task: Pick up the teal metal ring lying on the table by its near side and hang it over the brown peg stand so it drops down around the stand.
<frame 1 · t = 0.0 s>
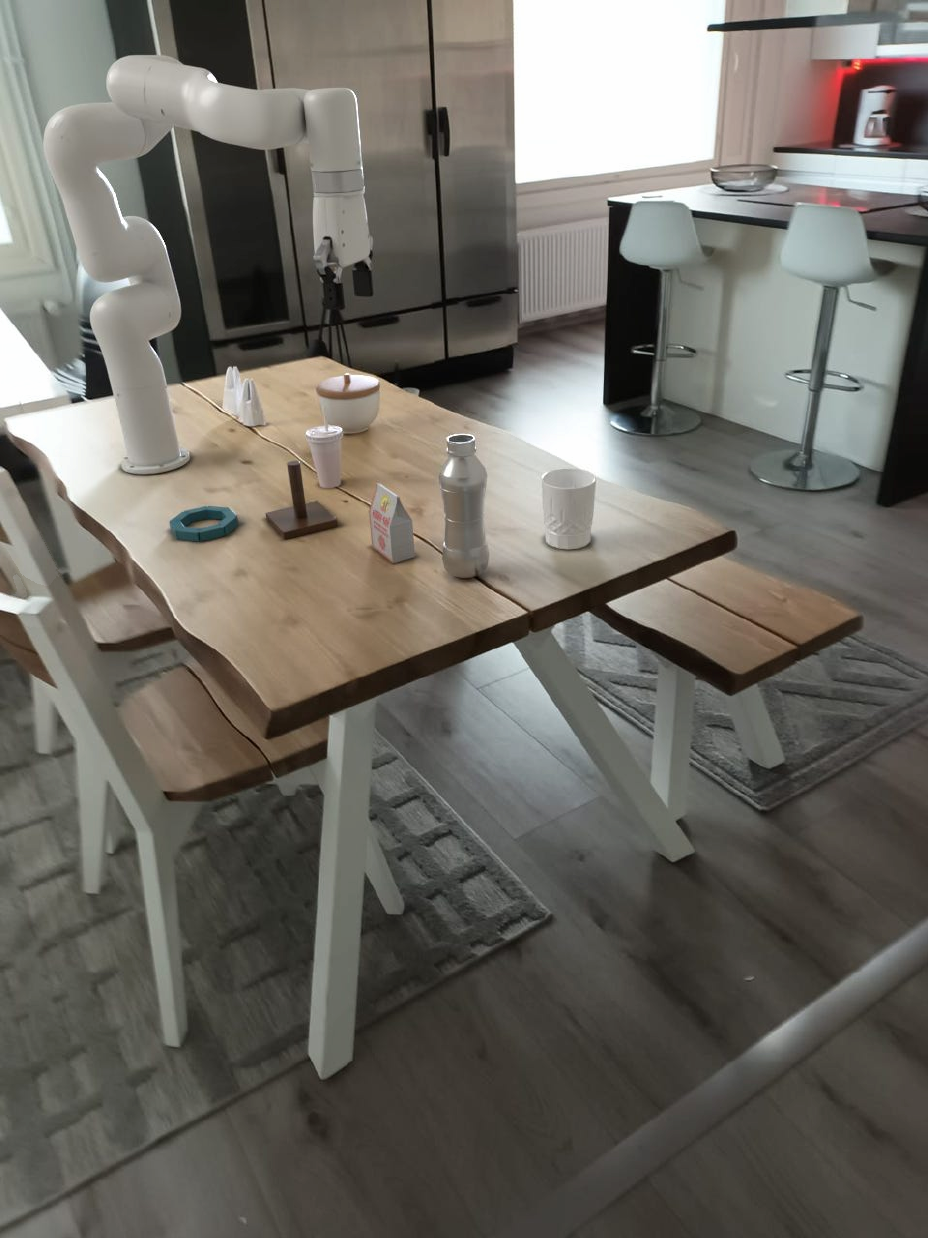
hand: (350, 302, 149), 31 cm above the table, tool pointing down, fingers open, 9 cm apart
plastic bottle: (466, 574, 135), on the table
white cup: (567, 541, 143), on the table
brown peg stand: (301, 522, 153), on the table
smoothie: (330, 485, 167), on the table
lidded bowl: (352, 428, 193), on the table
white twin peak shape: (245, 421, 200), on the table
white milk carton: (393, 553, 142), on the table
ring: (204, 527, 153), on the table
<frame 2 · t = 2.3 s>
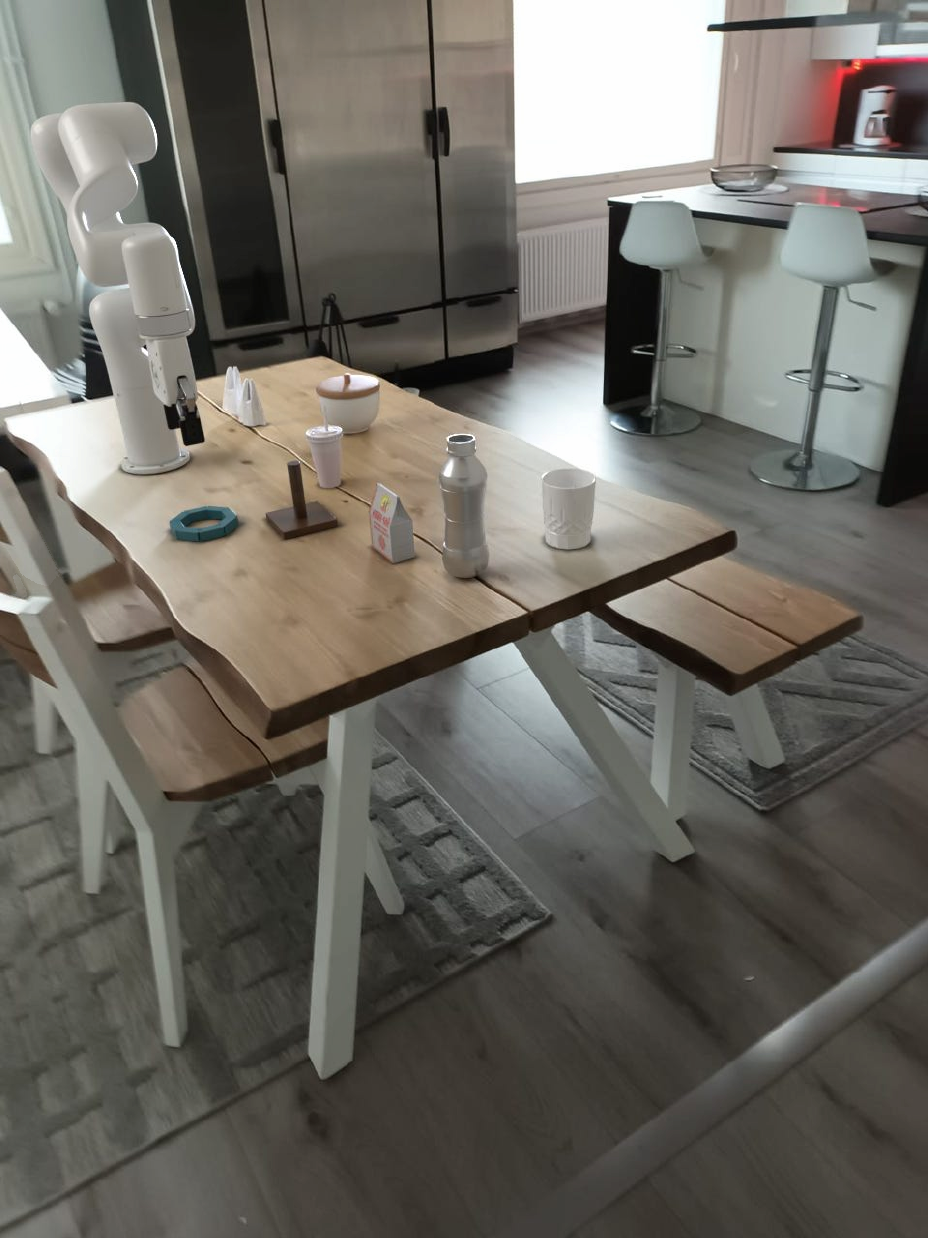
hand: (186, 435, 149), 14 cm above the table, tool pointing down, fingers open, 9 cm apart
nothing on the table moved.
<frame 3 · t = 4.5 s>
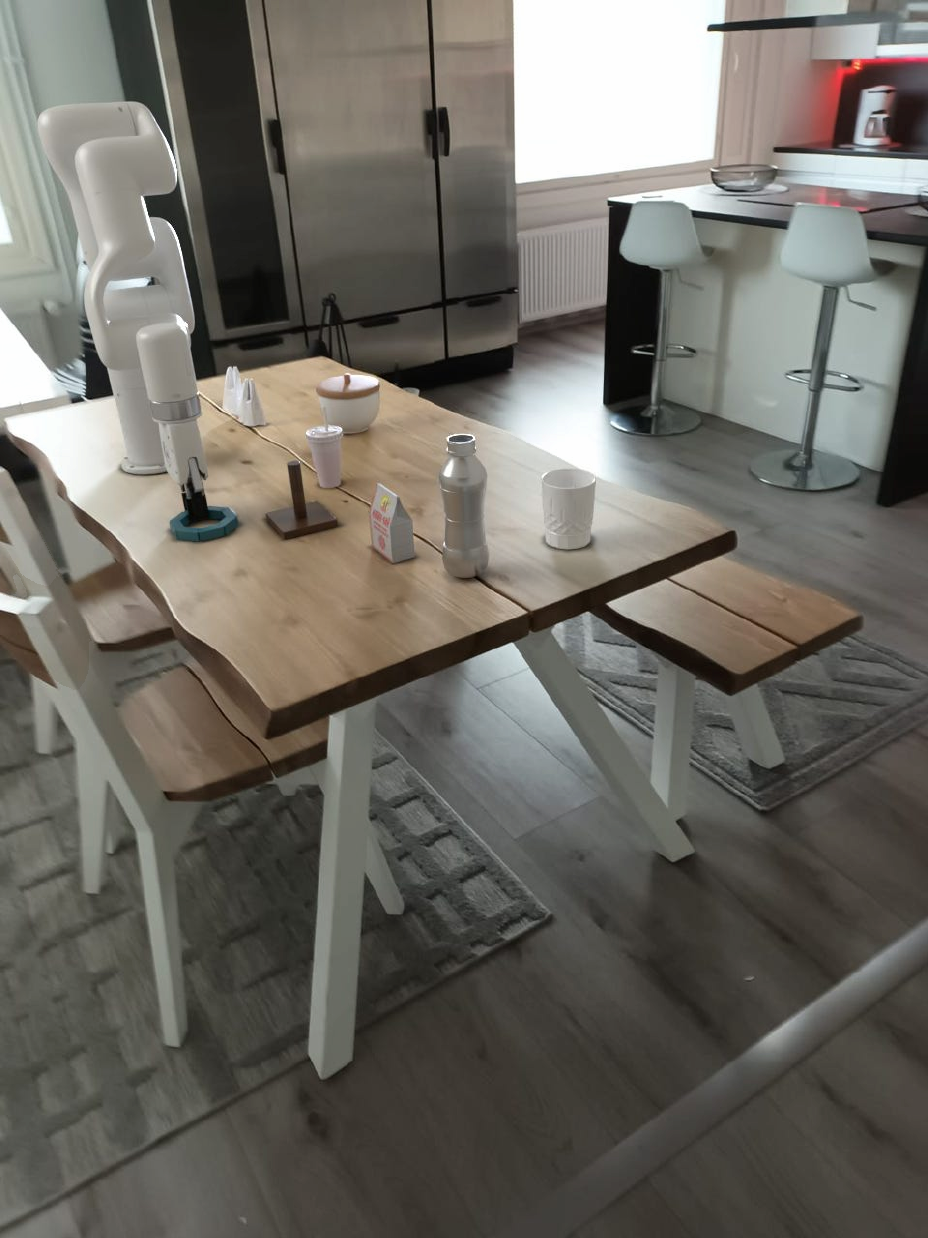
hand: (197, 515, 156), 1 cm above the table, tool pointing down, fingers closed on ring, 1 cm apart
ring: (204, 527, 153), on the table, touching gripper
everything else where it was.
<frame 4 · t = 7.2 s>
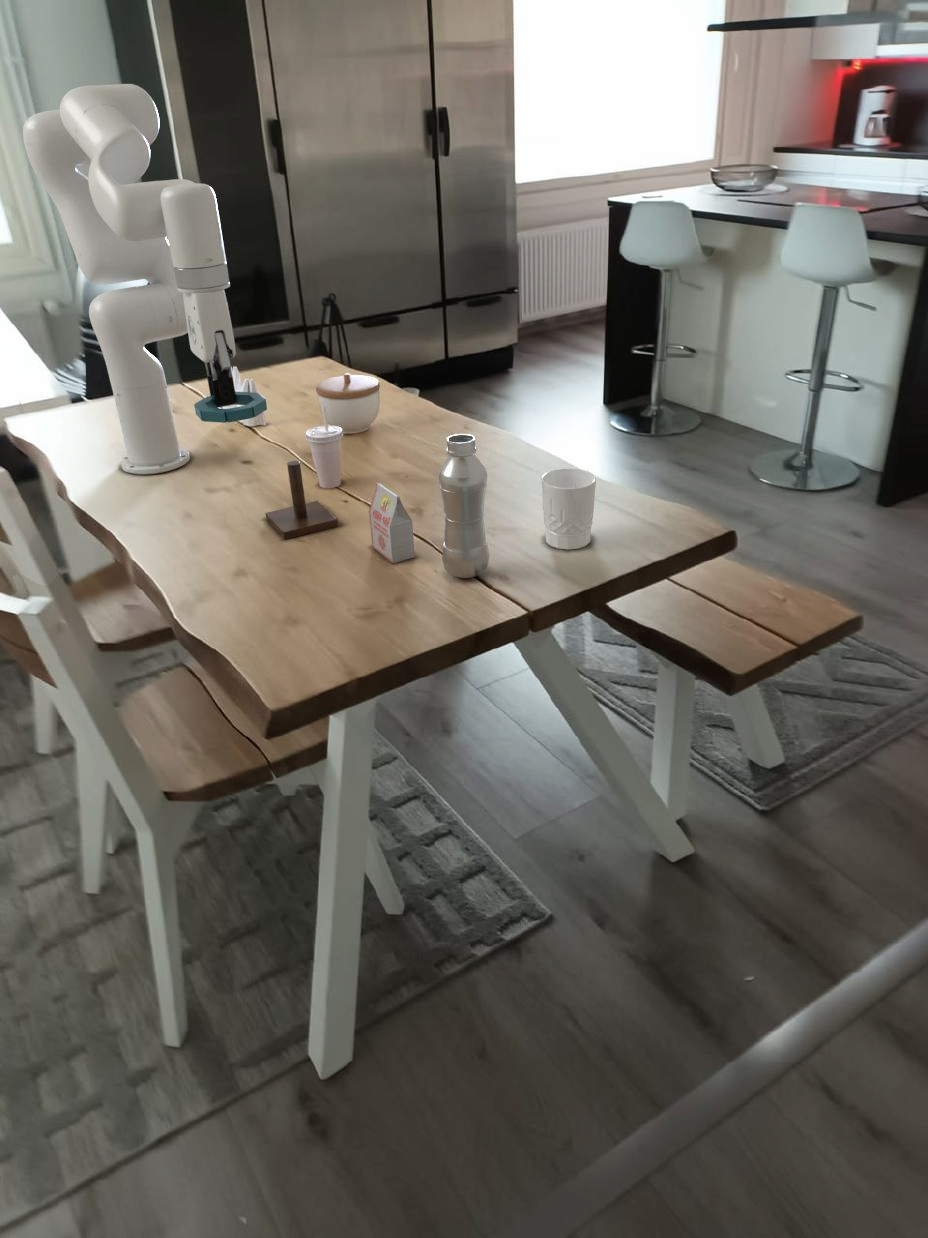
hand: (224, 401, 146), 19 cm above the table, tool pointing down, fingers closed on ring
ring: (231, 411, 143), point 19 cm above the table, touching gripper
everything else where it was.
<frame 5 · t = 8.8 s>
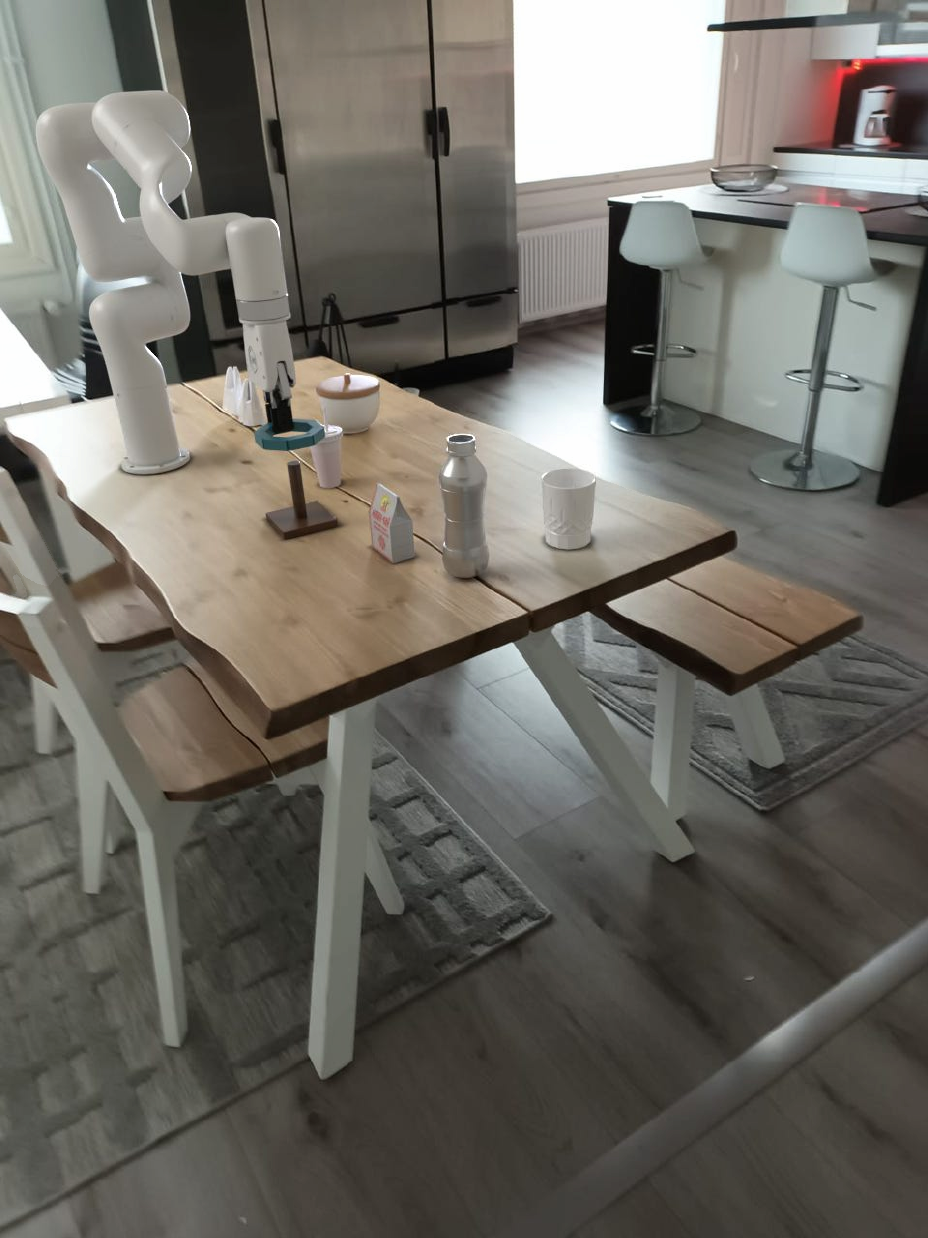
hand: (281, 428, 149), 15 cm above the table, tool pointing down, fingers closed on ring
ring: (290, 439, 146), point 14 cm above the table, touching gripper
everything else where it was.
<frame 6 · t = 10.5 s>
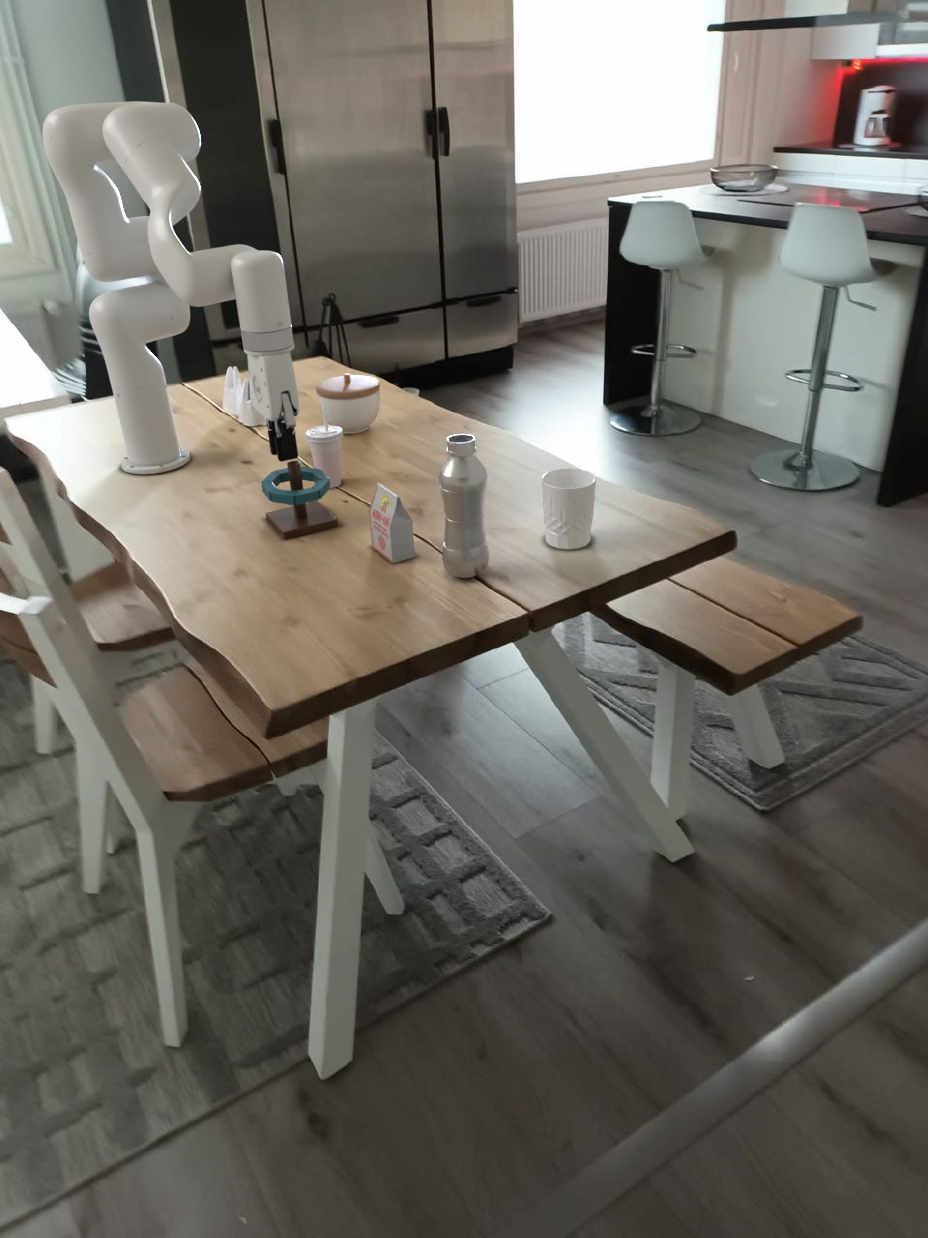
hand: (284, 455, 151), 10 cm above the table, tool pointing down, fingers closed
ring: (296, 489, 150), point 6 cm above the table, tilted 5°
everything else where it was.
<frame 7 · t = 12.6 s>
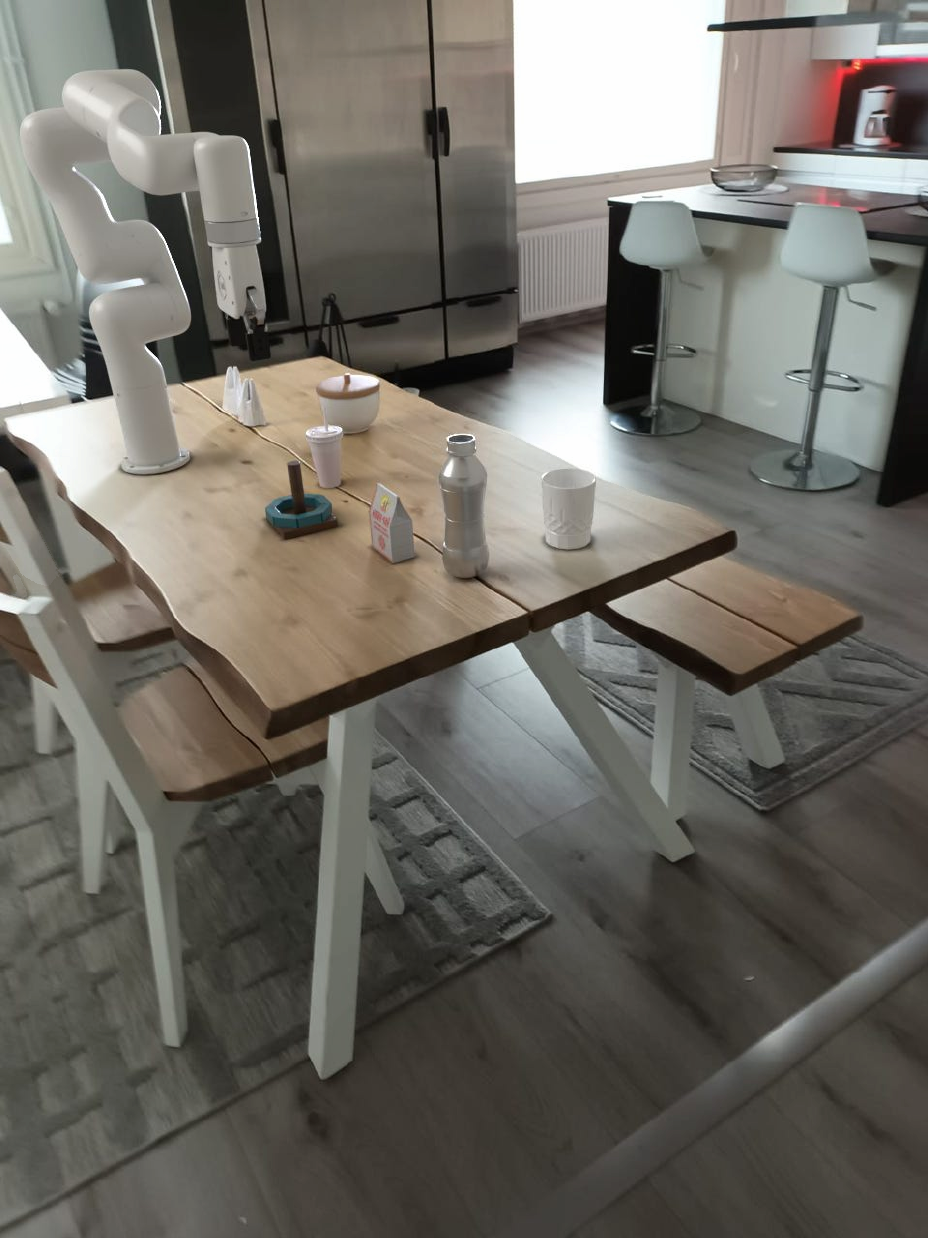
hand: (250, 351, 145), 26 cm above the table, tool pointing down, fingers open, 9 cm apart
ring: (299, 514, 153), point 1 cm above the table, touching brown peg stand
everything else where it was.
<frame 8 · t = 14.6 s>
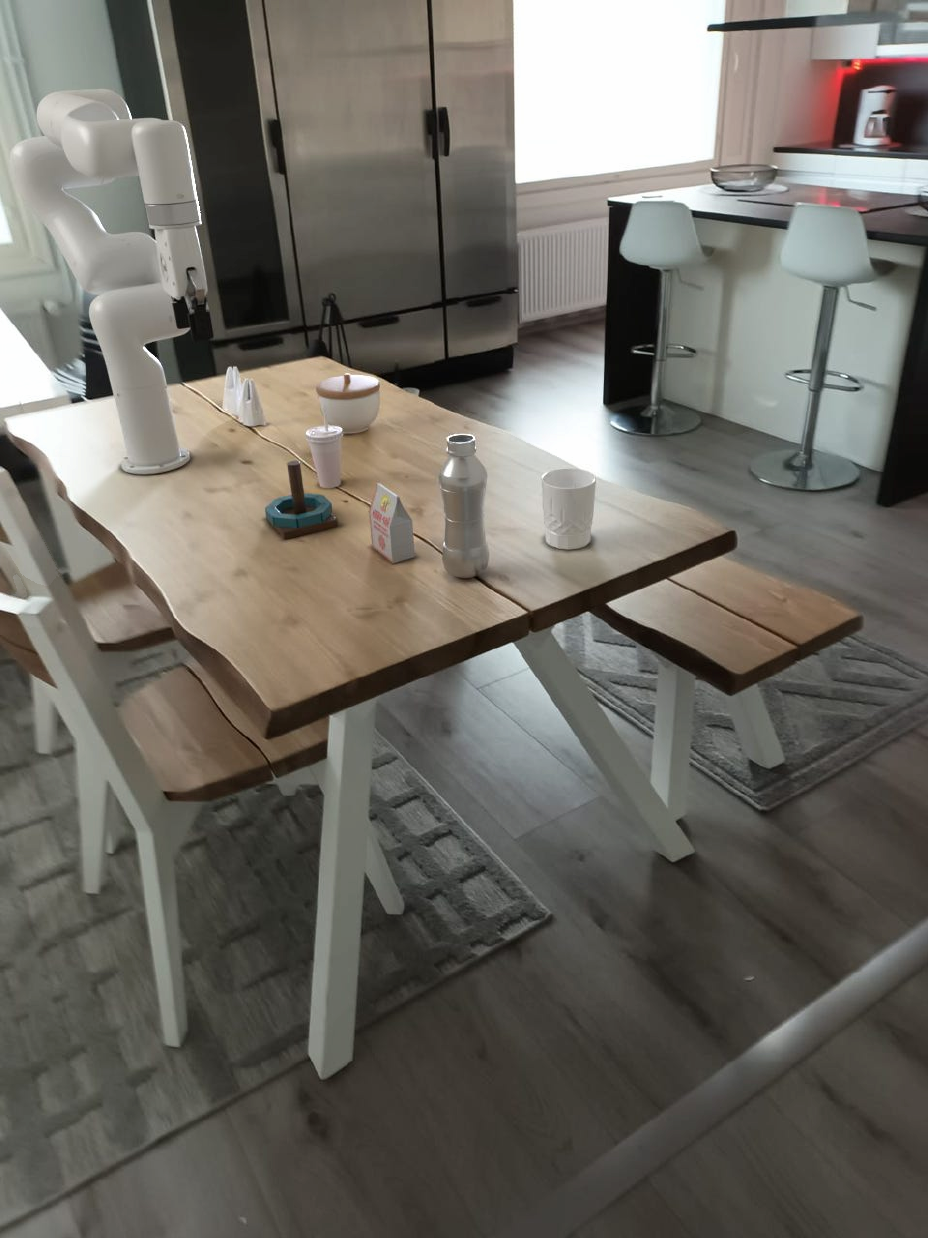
hand: (195, 333, 148), 28 cm above the table, tool pointing down, fingers open, 9 cm apart
nothing on the table moved.
at the end: ring 0.6 cm off-centre on the brown peg stand, point 1.2 cm above the brown peg stand's base; the gripper is holding nothing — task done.
